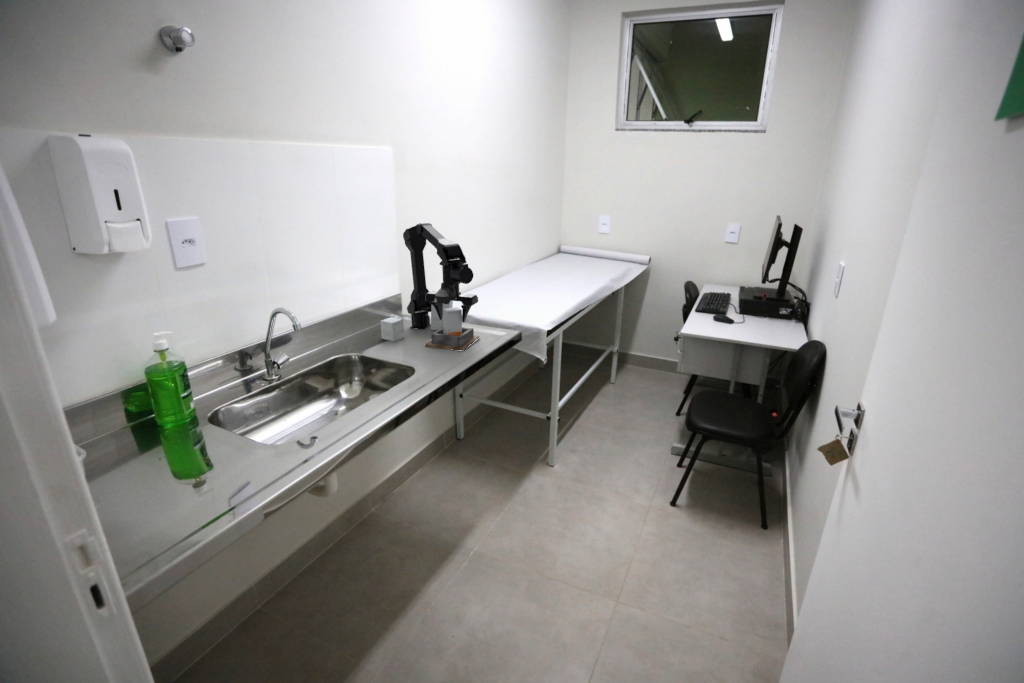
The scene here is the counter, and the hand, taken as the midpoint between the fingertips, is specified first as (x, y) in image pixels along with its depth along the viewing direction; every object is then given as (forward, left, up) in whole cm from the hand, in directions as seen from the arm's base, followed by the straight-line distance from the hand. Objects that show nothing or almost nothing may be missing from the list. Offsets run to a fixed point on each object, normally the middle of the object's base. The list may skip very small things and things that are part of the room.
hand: (452, 320), depth 186 cm
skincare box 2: (0, 0, -8) cm, 8 cm away
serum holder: (0, 0, -8) cm, 8 cm away
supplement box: (-12, +14, -8) cm, 20 cm away
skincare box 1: (-24, -3, -9) cm, 26 cm away
